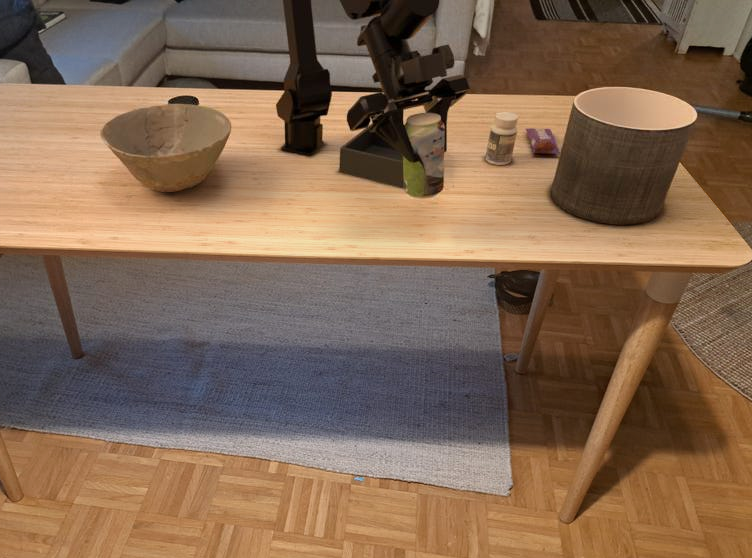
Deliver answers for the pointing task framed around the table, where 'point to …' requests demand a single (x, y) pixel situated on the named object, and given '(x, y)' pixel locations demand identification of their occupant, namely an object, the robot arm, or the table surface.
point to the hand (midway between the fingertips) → (428, 156)
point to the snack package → (542, 141)
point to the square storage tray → (372, 159)
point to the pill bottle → (502, 138)
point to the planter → (621, 154)
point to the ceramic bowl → (168, 143)
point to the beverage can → (425, 156)
